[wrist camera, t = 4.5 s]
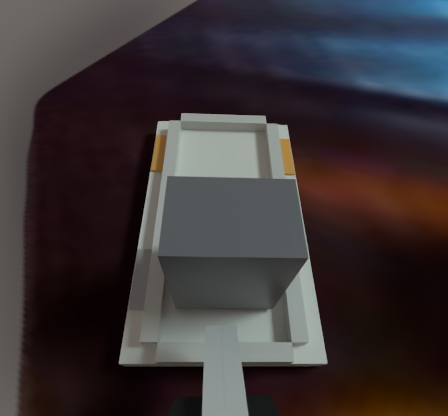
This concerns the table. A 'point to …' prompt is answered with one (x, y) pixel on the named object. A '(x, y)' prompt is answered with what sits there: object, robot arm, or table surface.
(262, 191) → the switch tab
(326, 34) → the table surface
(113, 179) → the table surface
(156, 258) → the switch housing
